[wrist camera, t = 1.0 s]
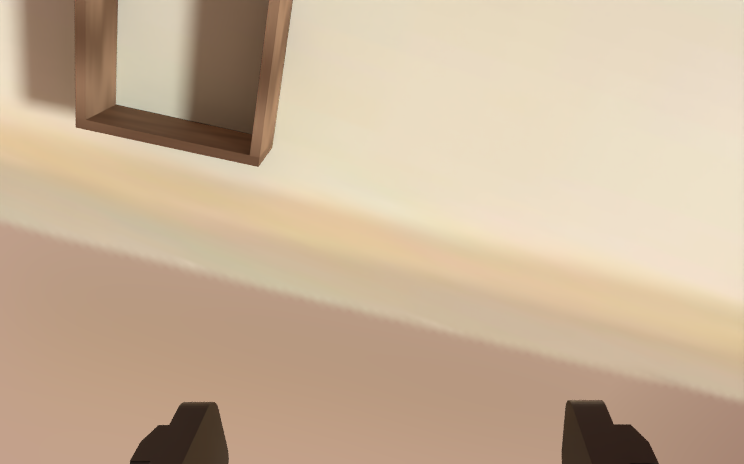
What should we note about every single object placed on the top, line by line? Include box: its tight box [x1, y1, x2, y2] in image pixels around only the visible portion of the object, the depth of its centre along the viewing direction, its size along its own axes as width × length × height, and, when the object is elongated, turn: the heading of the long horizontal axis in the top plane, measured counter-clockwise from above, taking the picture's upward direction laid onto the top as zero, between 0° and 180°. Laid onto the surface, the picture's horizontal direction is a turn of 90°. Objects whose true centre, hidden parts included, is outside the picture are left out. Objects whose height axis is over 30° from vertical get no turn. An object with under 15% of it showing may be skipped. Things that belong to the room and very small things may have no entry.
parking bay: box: [75, 0, 293, 167], centre depth 36 cm, size 11×11×4 cm
